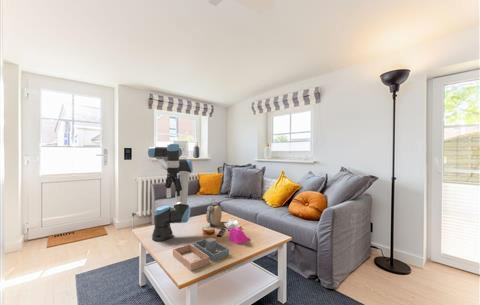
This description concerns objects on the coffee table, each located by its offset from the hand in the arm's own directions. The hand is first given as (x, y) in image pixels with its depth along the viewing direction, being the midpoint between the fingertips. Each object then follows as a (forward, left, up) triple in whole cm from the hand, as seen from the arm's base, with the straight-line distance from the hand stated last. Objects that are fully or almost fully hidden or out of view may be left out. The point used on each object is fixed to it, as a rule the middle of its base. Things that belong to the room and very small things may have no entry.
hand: (173, 199), depth 140 cm
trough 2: (+16, +19, -35) cm, 43 cm away
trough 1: (+16, +4, -35) cm, 38 cm away
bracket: (+15, +46, -35) cm, 60 cm away
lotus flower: (-7, +56, -35) cm, 66 cm away
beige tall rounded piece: (-25, +50, -35) cm, 66 cm away
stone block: (+16, +19, -35) cm, 43 cm away
